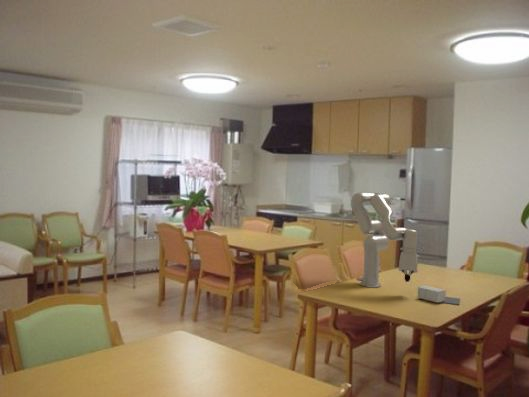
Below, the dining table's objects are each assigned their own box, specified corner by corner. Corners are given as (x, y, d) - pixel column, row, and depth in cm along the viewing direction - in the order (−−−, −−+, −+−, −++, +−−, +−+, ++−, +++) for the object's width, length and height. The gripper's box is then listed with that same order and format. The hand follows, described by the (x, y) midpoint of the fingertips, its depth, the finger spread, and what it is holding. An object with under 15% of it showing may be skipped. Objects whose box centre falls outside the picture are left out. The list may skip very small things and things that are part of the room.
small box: (417, 297, 282) (437, 302, 272) (417, 286, 282) (437, 291, 271) (425, 296, 287) (445, 301, 277) (425, 285, 287) (446, 289, 276)
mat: (424, 300, 278) (425, 299, 278) (427, 295, 291) (427, 294, 291) (459, 305, 271) (459, 304, 271) (460, 299, 284) (460, 298, 284)
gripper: (395, 249, 287) (393, 280, 288) (421, 253, 281) (419, 284, 282) (397, 248, 294) (395, 278, 295) (423, 251, 288) (421, 281, 289)
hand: (407, 281), depth 289 cm, fingers closed
